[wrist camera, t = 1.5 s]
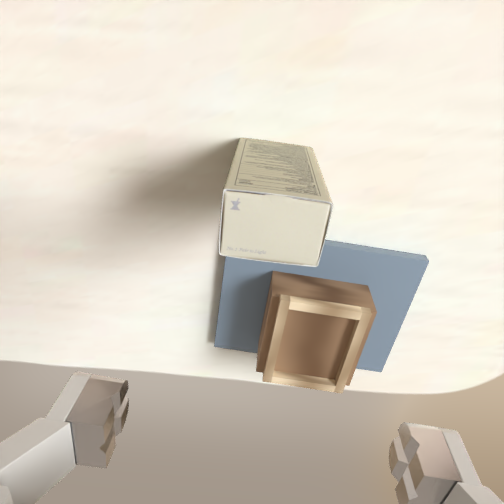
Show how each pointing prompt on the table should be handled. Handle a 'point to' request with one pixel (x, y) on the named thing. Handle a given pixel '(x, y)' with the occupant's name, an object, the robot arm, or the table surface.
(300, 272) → the blue board
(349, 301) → the walnut tray
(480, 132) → the table surface
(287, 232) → the skincare box
